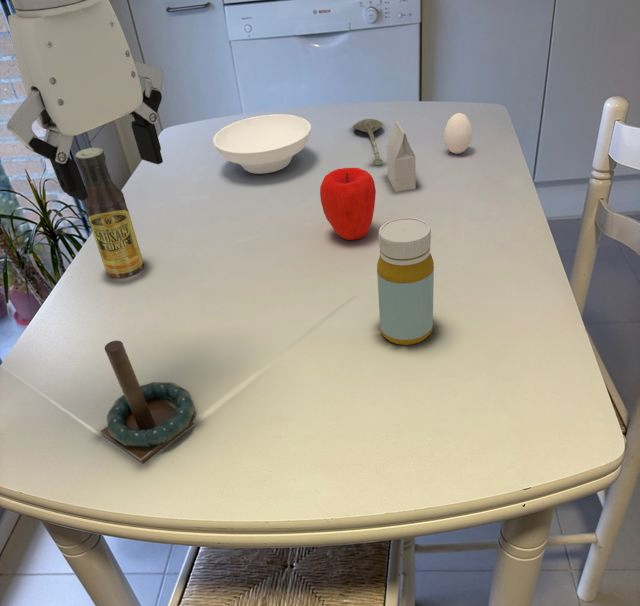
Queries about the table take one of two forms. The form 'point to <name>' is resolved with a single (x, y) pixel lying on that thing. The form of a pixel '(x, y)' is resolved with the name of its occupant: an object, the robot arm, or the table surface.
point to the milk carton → (400, 161)
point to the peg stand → (137, 403)
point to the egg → (458, 133)
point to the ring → (157, 433)
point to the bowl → (263, 141)
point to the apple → (348, 201)
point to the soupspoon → (370, 134)
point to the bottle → (405, 280)
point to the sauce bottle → (109, 217)
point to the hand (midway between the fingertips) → (116, 178)
